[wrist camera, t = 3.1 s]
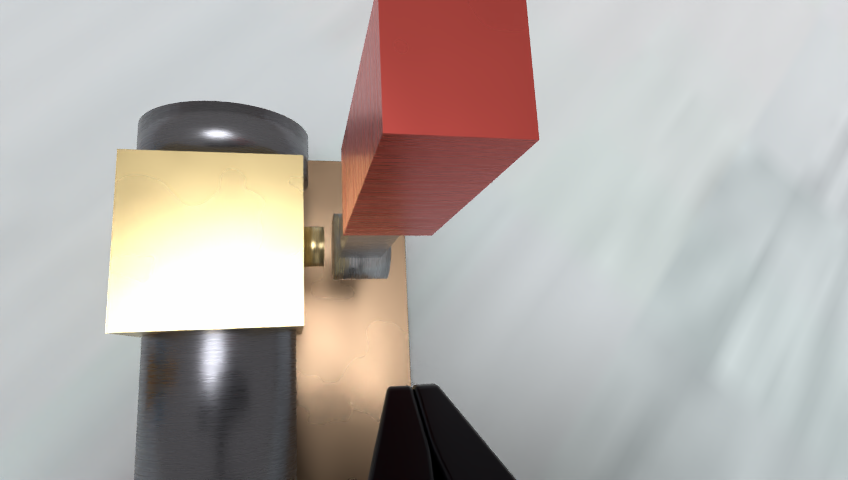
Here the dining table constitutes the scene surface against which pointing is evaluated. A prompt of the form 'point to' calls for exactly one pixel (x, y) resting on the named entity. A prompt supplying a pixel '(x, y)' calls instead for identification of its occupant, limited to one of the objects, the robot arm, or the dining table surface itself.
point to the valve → (247, 303)
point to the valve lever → (429, 121)
